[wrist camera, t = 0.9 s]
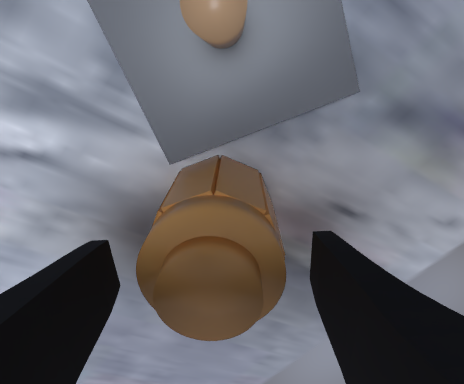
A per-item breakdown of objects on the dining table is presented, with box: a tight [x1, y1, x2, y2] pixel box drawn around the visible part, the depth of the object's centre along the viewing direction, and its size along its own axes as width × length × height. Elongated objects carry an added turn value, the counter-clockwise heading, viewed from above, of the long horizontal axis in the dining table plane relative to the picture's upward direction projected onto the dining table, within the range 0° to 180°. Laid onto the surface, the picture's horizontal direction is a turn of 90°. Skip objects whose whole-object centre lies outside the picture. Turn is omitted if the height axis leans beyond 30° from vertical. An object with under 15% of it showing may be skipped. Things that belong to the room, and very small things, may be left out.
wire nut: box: [136, 155, 286, 341], centre depth 11 cm, size 5×5×6 cm
